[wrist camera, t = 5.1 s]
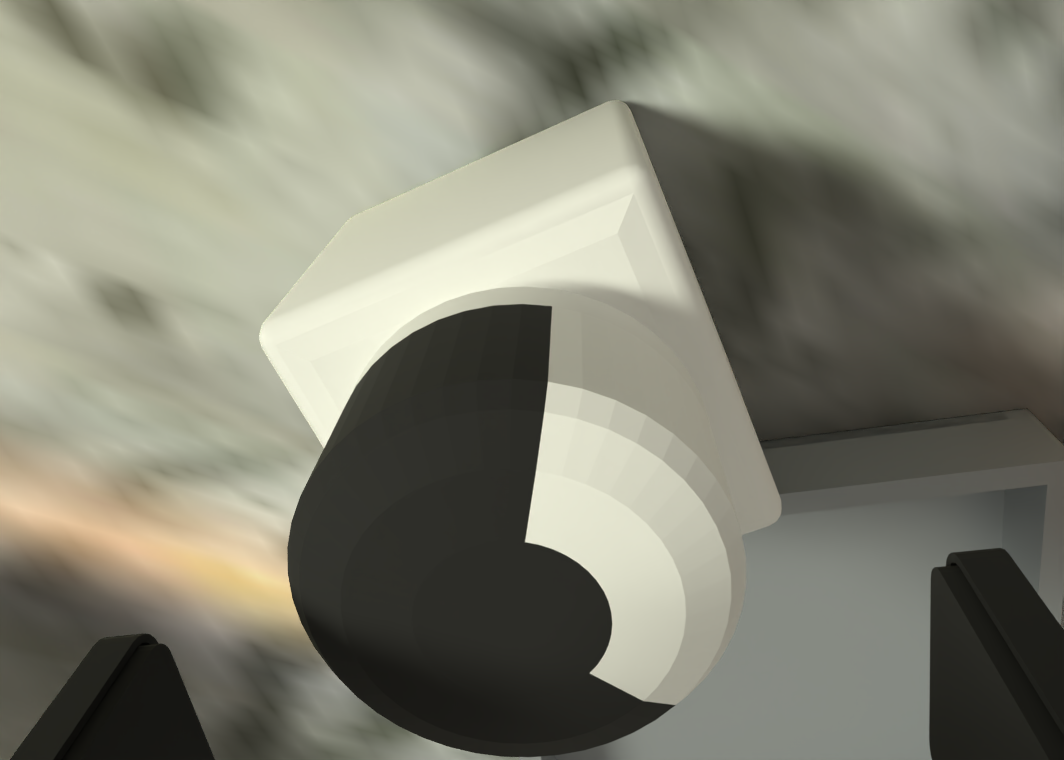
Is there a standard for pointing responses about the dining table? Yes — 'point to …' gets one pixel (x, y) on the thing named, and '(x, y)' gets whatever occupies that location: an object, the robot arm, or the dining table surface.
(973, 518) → the grey square tray
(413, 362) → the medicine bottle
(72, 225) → the dining table surface
